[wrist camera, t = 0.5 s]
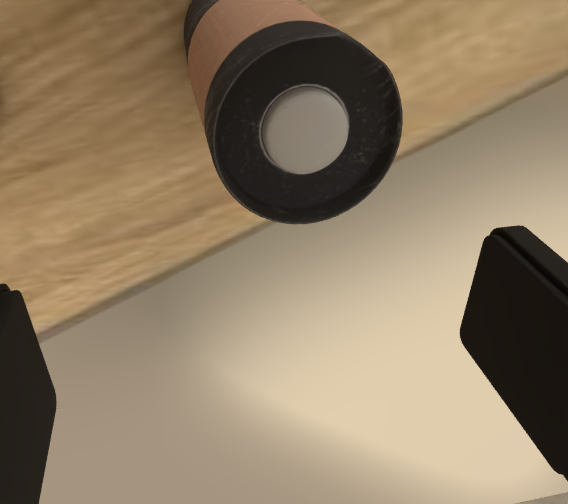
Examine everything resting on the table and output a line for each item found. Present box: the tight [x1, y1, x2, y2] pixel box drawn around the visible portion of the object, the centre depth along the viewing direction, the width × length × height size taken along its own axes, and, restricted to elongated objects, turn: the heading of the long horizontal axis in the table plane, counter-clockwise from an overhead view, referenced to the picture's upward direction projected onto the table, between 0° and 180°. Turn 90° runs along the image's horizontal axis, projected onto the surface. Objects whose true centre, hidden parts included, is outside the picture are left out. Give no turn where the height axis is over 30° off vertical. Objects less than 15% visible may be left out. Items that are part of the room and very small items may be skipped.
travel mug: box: [184, 0, 402, 224], centre depth 27 cm, size 8×8×20 cm
